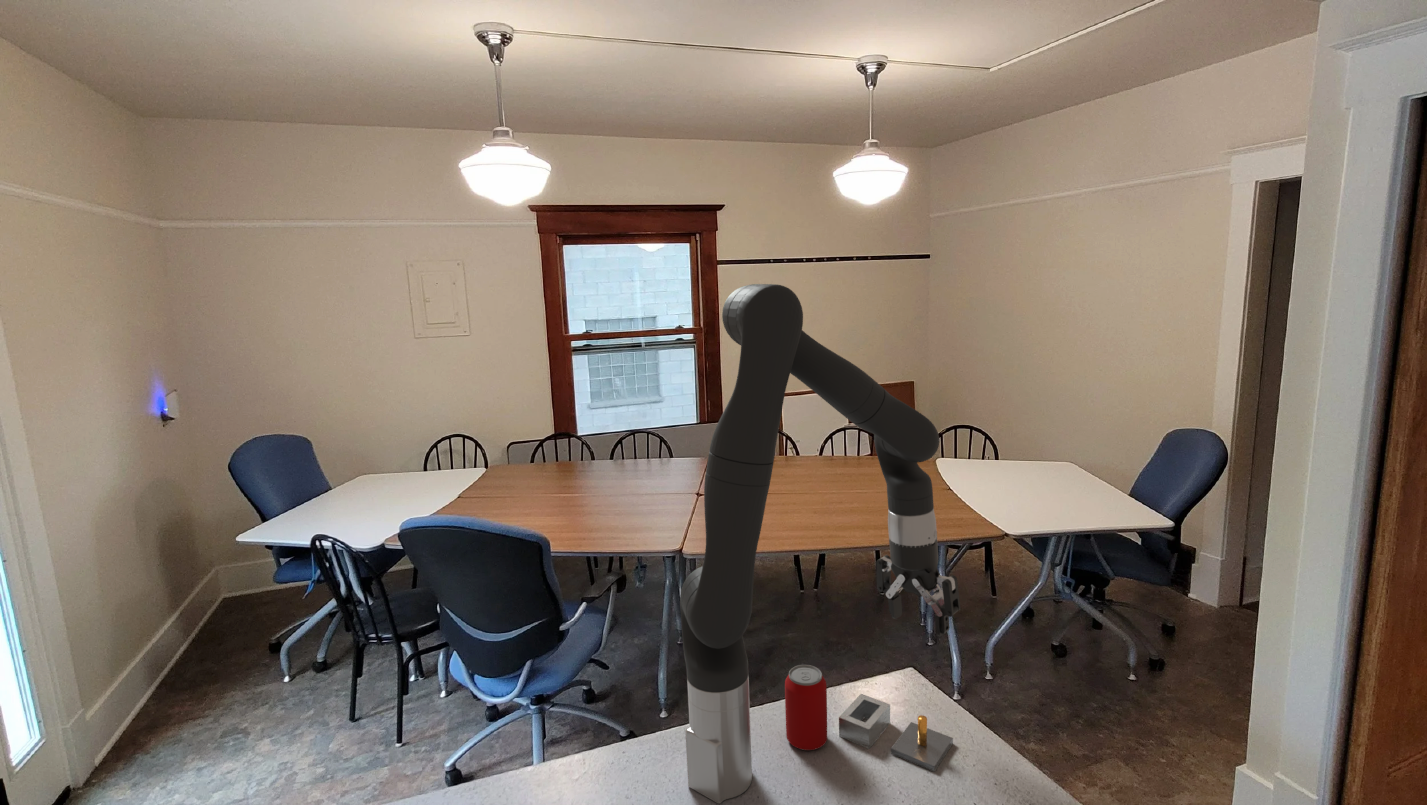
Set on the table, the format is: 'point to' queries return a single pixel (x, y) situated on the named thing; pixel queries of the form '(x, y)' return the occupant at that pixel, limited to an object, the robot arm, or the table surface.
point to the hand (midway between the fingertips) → (918, 625)
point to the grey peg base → (922, 745)
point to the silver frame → (862, 731)
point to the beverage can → (806, 707)
